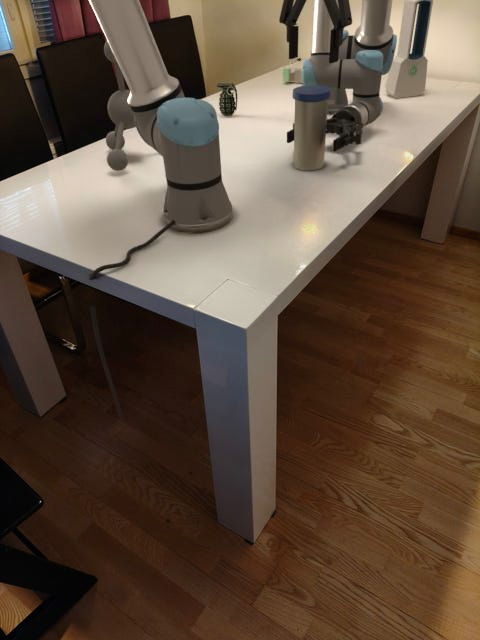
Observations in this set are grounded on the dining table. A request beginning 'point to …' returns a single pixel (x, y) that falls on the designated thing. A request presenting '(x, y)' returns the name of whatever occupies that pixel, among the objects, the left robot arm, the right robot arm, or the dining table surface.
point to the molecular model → (118, 118)
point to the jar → (310, 134)
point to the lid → (311, 93)
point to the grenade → (227, 99)
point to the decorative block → (293, 72)
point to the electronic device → (407, 67)
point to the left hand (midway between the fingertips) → (312, 60)
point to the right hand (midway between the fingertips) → (310, 141)
